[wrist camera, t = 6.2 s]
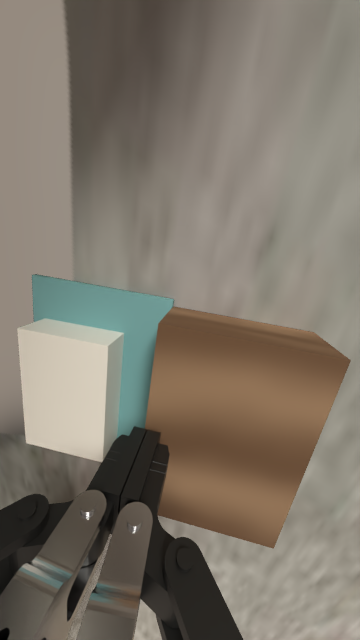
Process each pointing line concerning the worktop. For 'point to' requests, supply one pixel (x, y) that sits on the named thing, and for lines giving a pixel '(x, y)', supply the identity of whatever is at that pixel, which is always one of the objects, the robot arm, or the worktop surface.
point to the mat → (116, 315)
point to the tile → (70, 386)
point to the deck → (238, 418)
